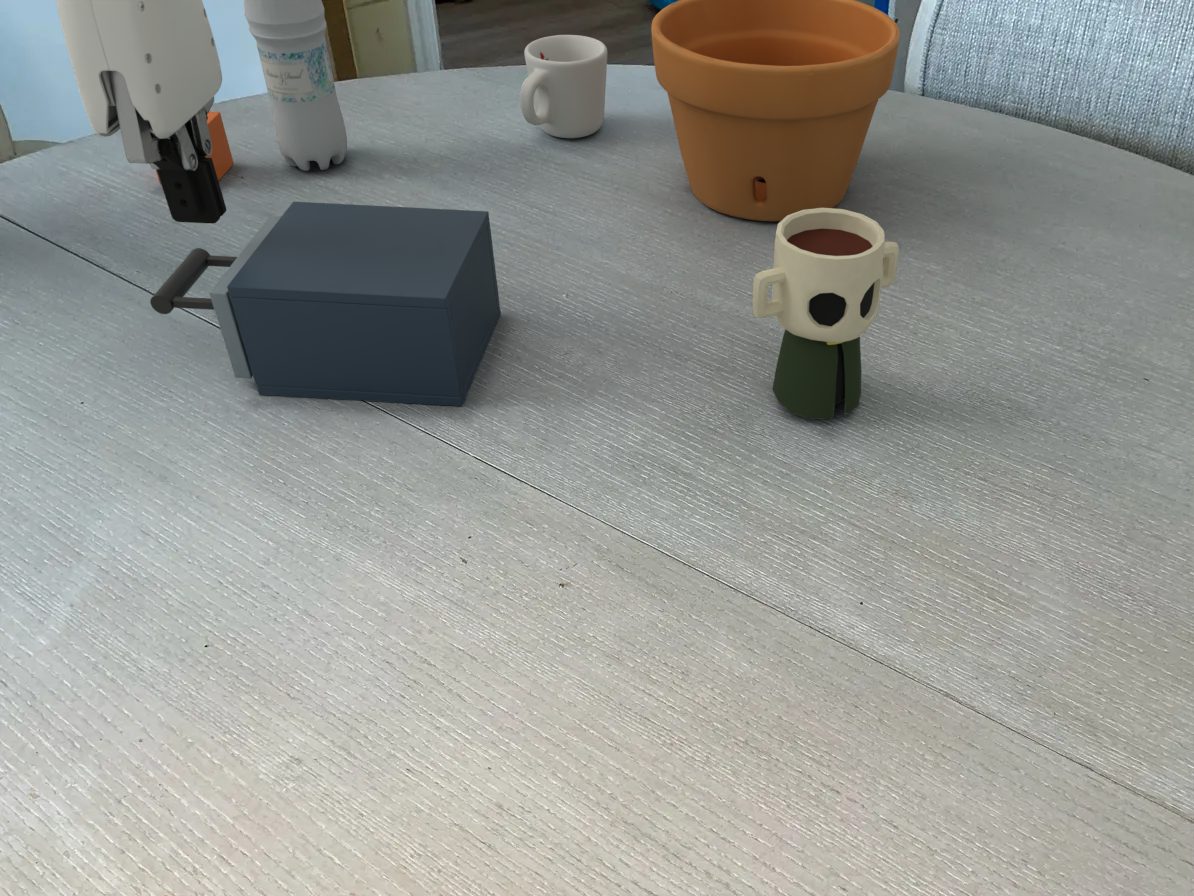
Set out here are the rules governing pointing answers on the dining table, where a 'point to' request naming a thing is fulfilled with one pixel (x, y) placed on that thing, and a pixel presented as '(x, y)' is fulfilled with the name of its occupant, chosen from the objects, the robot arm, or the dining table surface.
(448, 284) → the drawer cabinet
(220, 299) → the drawer
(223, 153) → the block
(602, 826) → the dining table surface
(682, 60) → the flower pot
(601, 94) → the cup
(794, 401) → the character mug
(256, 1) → the bottle
